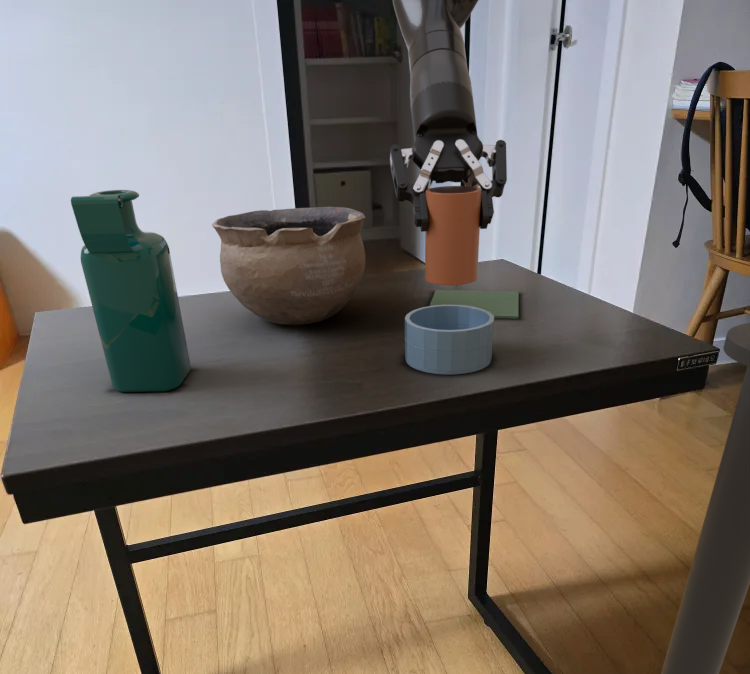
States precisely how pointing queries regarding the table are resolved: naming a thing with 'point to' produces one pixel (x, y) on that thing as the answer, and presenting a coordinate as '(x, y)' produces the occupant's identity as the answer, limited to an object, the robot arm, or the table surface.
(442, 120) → the robot arm
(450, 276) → the small pot
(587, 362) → the table surface
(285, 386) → the table surface
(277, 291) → the ceramic bowl
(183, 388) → the table surface
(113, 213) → the green detergent bottle
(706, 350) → the table surface
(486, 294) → the mat
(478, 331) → the big pot
